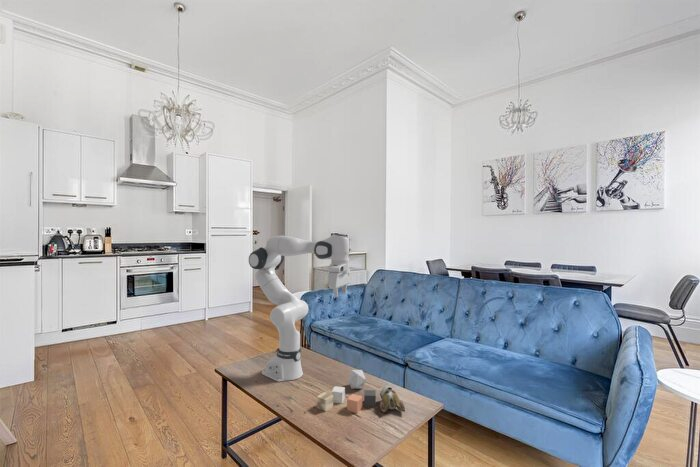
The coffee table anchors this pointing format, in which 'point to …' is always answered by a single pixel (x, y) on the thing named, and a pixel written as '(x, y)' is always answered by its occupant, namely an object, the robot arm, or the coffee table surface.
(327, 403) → the birch cube
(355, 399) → the terracotta cube
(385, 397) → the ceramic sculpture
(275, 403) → the coffee table surface
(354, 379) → the die
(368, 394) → the black cube
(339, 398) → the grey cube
